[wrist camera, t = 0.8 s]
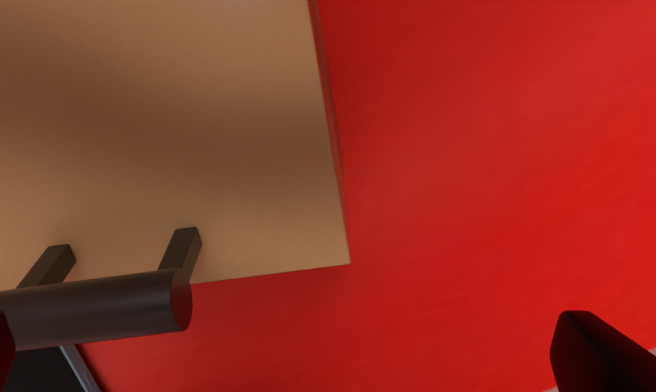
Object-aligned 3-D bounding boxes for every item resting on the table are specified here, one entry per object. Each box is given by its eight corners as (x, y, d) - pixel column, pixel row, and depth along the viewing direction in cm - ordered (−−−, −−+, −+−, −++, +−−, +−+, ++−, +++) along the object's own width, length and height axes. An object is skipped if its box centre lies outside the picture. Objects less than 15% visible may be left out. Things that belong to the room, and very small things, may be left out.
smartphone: (-9, 223, 23) (128, 459, 29) (5, 210, 24) (135, 442, 30) (-165, 254, 23) (4, 478, 30) (-146, 241, 24) (14, 460, 31)
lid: (350, 255, 18) (357, 354, 14) (-43, 306, 19) (-137, 411, 15) (282, -155, 12) (263, -175, 8) (-268, -54, 13) (-505, -31, 9)
